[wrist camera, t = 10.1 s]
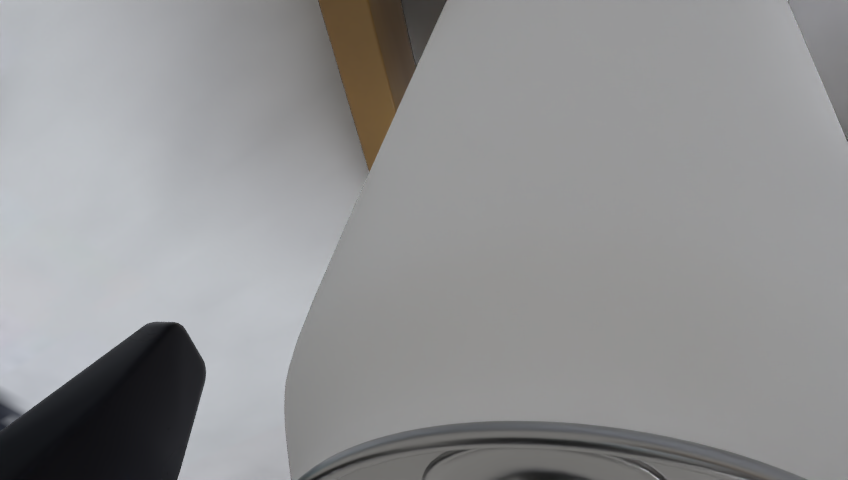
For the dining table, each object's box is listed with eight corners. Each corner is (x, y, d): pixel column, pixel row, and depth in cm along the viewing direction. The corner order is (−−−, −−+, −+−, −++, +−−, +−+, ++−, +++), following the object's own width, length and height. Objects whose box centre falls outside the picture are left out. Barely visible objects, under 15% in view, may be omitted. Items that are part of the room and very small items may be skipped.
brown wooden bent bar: (1617, -492, 8) (1825, -514, 7) (1214, 191, 15) (1279, 256, 13) (301, -209, 13) (262, -186, 12) (413, 217, 19) (396, 267, 18)
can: (767, -193, 12) (1174, 365, 3) (781, 134, 16) (985, 811, 7) (410, -84, 14) (67, 412, 5) (495, 178, 18) (372, 726, 9)
